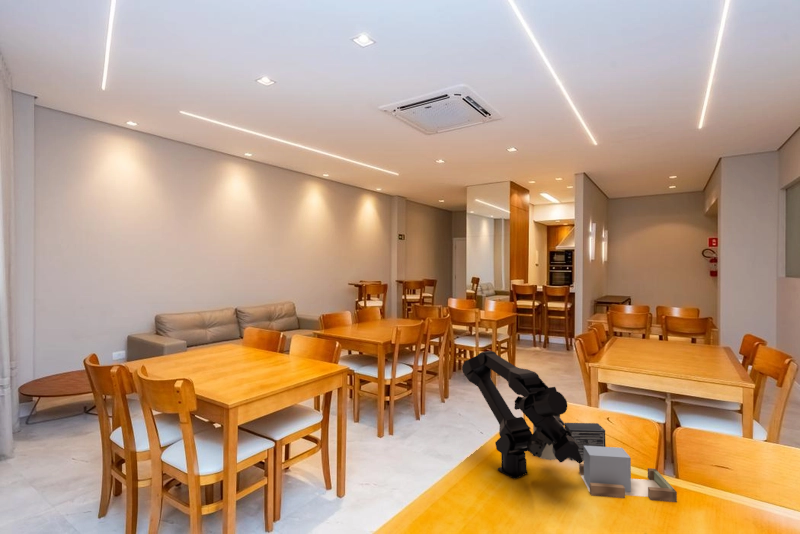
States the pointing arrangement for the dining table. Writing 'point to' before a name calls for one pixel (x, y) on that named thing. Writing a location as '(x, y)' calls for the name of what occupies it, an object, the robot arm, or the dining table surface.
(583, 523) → the dining table surface
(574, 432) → the small box
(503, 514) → the dining table surface
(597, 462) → the block
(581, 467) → the brown piece
